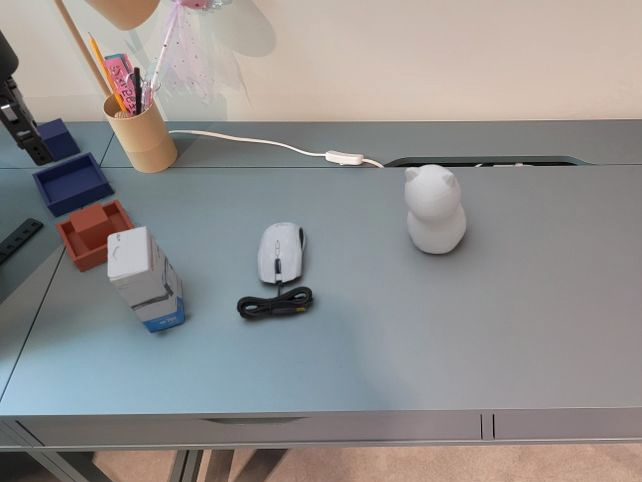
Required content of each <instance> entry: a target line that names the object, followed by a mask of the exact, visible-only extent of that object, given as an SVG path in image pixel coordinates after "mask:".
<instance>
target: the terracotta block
mask: <svg viewBox="0 0 642 482" xmlns="http://www.w3.org/2000/svg"><path fill="white" fill-rule="evenodd" d="M101 205H102V204H101V203H100V202H97V203H93V204H92V205H91V204H90V205H89V206H86V207H84V208H82V209H79V210H77V211H75V212H71V213H70V214H67V217H68V219H70V221H71V223H72V225H73V227H74V229H75V231H76V233H77V234H78V236H79V237H80V238H81V240H82V241H83V242H84V244H85V245H86V246H87V248H88V249H89V251H91V250H94V249H96V248H98V247H100V246H103V245H105V244H107V243H108V236H109V235H111V234H114V233H118V232H117V230H116V228H115V226H114V224H113V223H112V221H111V220H110V218H109V217H108V215H107V214H106V212H105V211H104V209H103V208H102V206H101Z"/></svg>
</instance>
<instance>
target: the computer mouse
mask: <svg viewBox="0 0 642 482" xmlns="http://www.w3.org/2000/svg"><path fill="white" fill-rule="evenodd" d="M306 239H307V238H306V233H305V230H304V228H303V227H302V225H301V226H300V225H299V224H298V223H295V222H290V221H289V222H288V221H287V222H286V221H285V222H284V221H283V222H277V223H274V224H271V225H270V226H268V227H267V228H266V229H265V230H264V232H263V234H262V237H261V239H260V242H259V247H258V251H257V256H256V259H257V260H256V261H257V262H256V263H257V264H256V265H257V274H258V280H259V281H261V282H265V283H270V284H276V283H277V295H276V296H274V297H268V298H264V297H257V296H251V295H250V296H249V295H248V296H243V297H241V298H239V300H238V301H237V302H236V311H237V312H238V314H239V316H240V318H242V319H245V320H250V319H254V318H256V317H259V316H262V315H267V316H272V315H273V316H274V315H275V316H276V315H291V314H296V313H297V312H305V311H306V305H309V304H310V303H312V302H313V301H314V298H313V291H312V289H311V288H310V287H307V286H304V285H303V286H302V285H301V286H297V287H294V288H291V289H290V290H288V291H286V292H284V293H281V288H282V287H283V283H287V282H289V281H293V280H294V279H296V278H298V277H301V276H302V269H303V268H302V267H303V266H302V265H303V255H304V252H305V249H306V243H307V241H306ZM298 295H299V296H298ZM302 295H305V296H302ZM296 296H297V297H296ZM248 307H253V308H248Z"/></svg>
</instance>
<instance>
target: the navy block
mask: <svg viewBox="0 0 642 482" xmlns="http://www.w3.org/2000/svg"><path fill="white" fill-rule="evenodd" d="M35 129H36V130H37V132H39V133H40V135H41V138H42V141H43V142H44V144H45V145H46V147H47V148H48V149H49V151H50V152H51V154H52V155H53V157H54V161H53V162H52V163H56V162H58V161H60V160H63V159H66V158H69V157H71V156H74V155H77V154H79V153H82V151H81V148H80V147H79V146H78V143H77V142H76V140H75V138H74V136H73V135H72V134H71V132H70V131H69V129H68V127H67V126H66V123H65V122H64V121H63V119H62V117H59V118H56V119H53V120H50V121H48V122H45V123H41V124H39V125H37V127H36V128H35Z"/></svg>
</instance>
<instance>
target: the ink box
mask: <svg viewBox="0 0 642 482" xmlns="http://www.w3.org/2000/svg"><path fill="white" fill-rule="evenodd" d="M107 277H108V278H109V282H110V283H111V284H112V285H113V287H114V288H115V289H116V290H117V292H118V293H119V294H120V295H121V297H122V298H123V299H124V301H125V302H126V304H127V305H128V306H129V308H130V309H131V310H132V311H133V312H134V314H135V315H136V316H137V318H138V319H139V320H140V321H141V323H142V324H143V326H144V327H145V328H146V329H147V331H148V332H149V333H154V332H157V331H161V330H164V329H168V328H172V327H175V326H177V325H180V324H182V323H185V312H184V302H183V290H182V289H183V288H182V278H181V277H180V276H179V274H178V272H177V271H176V270H175V268H174V266H173V265H172V264H171V262H170V261H169V259H168V258H167V256H166V254H165V253H164V251H163V250H162V248H161V247H160V245H159V244H158V242H157V241H156V239H155V238H154V236H153V234H152V233H151V231H150V229H149V228H148V227H147V225H143V226H138V227H134V229H131V230H127V231H123V232H119V233H114V234H111V235H109V236H108V260H107Z"/></svg>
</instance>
